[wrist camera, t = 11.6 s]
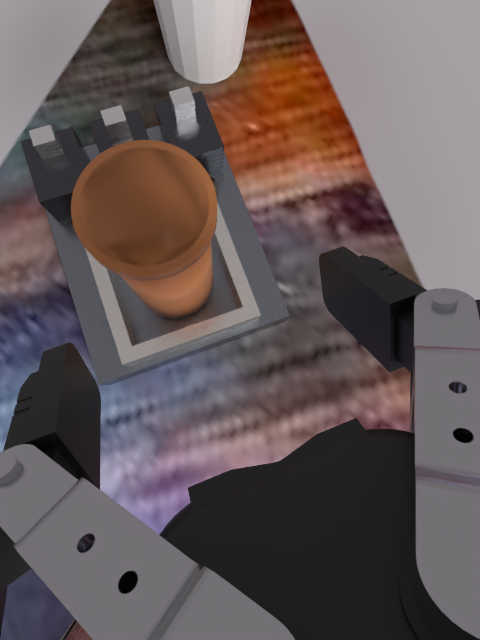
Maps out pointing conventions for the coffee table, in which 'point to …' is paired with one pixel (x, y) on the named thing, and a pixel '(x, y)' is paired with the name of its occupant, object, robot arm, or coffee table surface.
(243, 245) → the board
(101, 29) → the coffee table surface
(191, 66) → the shot glass
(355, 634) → the robot arm
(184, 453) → the coffee table surface
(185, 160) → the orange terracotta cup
